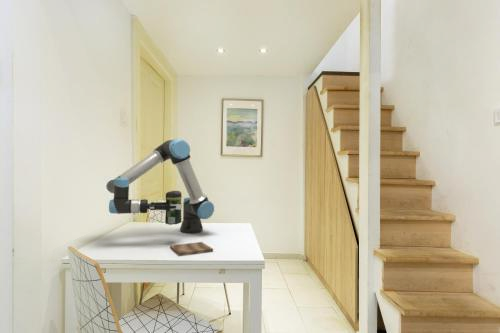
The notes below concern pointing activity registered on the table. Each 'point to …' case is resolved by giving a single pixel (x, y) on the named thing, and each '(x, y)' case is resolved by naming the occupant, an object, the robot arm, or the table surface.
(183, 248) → the walnut board
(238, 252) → the table surface
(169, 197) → the coffee jar
